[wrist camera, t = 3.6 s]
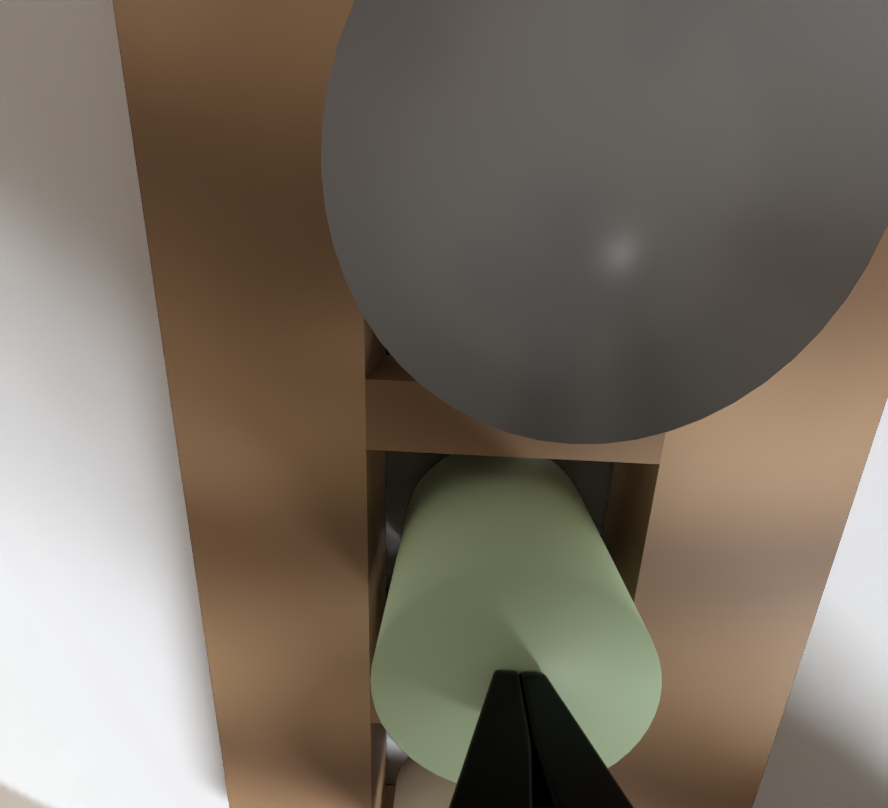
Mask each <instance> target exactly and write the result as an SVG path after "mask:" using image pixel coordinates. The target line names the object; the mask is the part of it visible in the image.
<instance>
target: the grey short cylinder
mask: <svg viewBox="0 0 888 808" xmlns="http://www.w3.org/2000/svg"><path fill="white" fill-rule="evenodd" d="M321 173H322V183H323V194H324V204H325V211H326V215H327V220H328V224H329V229H330V234H331V238H332V243H333V247H334V249H335V252H336V255H337V258H338V261H339V264H340V267H341V270H342V272H343V275H344V278H345V281H346V283H347V285H348V287H349V289H350V291H351V293H352V295H353V297H354V299H355V301H356V303H357V305H358V307H359V309H360V311H361V313H362V315H363V316H364V318H365V319H366V321H367V322H368V324H369V325H370V327H371V329H372V330H373V332H374V333H375V335H376V336H377V338H378V339H379V341H380V342H381V343H382V344H383V346H384V347H385V348H386V349H387V350H388V351H389V353H390V354H391V355H392V356H393V357H394V359H395V360H396V361H397V362H398V363H399V364H400V366H401V367H402V368H403V369H404V370H406V371H407V372H408V373H409V374H410V375H411V376H412V377H413V378H414V379H415V380H416V381H418V382H419V383H420V384H421V385H422V386H423V387H424V388H425V389H426V390H428V391H429V392H431V393H432V394H434V395H435V396H436V397H438V398H439V399H441V400H442V401H444V402H445V403H446V404H448V405H449V406H451V407H452V408H454V409H456V410H458V411H460V412H462V413H463V414H465V415H467V416H469V417H471V418H473V419H475V420H477V421H479V422H481V423H483V424H486V425H489V426H491V427H494V428H497V429H499V430H502V431H505V432H507V433H510V434H514V435H519V436H523V437H527V438H531V439H535V440H540V441H548V442H557V443H566V444H607V443H615V442H622V441H630V440H637V439H641V438H645V437H649V436H653V435H657V434H661V433H665V432H669V431H672V430H675V429H677V428H680V427H683V426H685V425H688V424H691V423H693V422H696V421H699V420H701V419H703V418H705V417H707V416H709V415H711V414H713V413H715V412H717V411H719V410H721V409H723V408H725V407H727V406H729V405H731V404H733V403H735V402H736V401H738V400H739V399H741V398H742V397H744V396H745V395H747V394H748V393H750V392H752V391H753V390H755V389H756V388H758V387H759V386H761V385H762V384H764V383H765V382H766V381H768V380H769V379H770V378H771V377H772V376H774V375H775V374H776V373H777V372H779V371H780V370H781V369H782V368H783V367H785V366H786V365H787V364H788V363H790V362H791V361H792V360H793V359H794V358H795V357H796V356H797V355H798V354H799V353H800V352H801V351H802V350H803V349H804V348H805V347H806V346H807V345H808V344H809V343H810V342H811V341H812V340H813V339H814V338H815V337H816V336H817V335H818V334H819V333H820V332H821V331H822V330H823V328H824V327H825V326H826V324H827V323H828V322H829V321H830V319H831V318H832V317H833V316H834V314H835V313H836V312H837V311H838V309H839V308H840V307H841V306H842V304H843V303H844V302H845V301H846V299H847V298H848V296H849V294H850V293H851V291H852V290H853V288H854V287H855V285H856V283H857V282H858V280H859V279H860V277H861V276H862V274H863V272H864V271H865V269H866V268H867V266H868V264H869V262H870V260H871V258H872V256H873V254H874V252H875V250H876V248H877V246H878V244H879V242H880V240H881V238H882V236H883V234H884V232H885V230H886V228H887V225H888V0H354V3H353V5H352V8H351V11H350V13H349V16H348V18H347V21H346V23H345V26H344V29H343V31H342V34H341V36H340V39H339V42H338V46H337V50H336V54H335V57H334V61H333V65H332V69H331V73H330V77H329V81H328V85H327V92H326V100H325V107H324V114H323V122H322V144H321Z"/></svg>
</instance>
